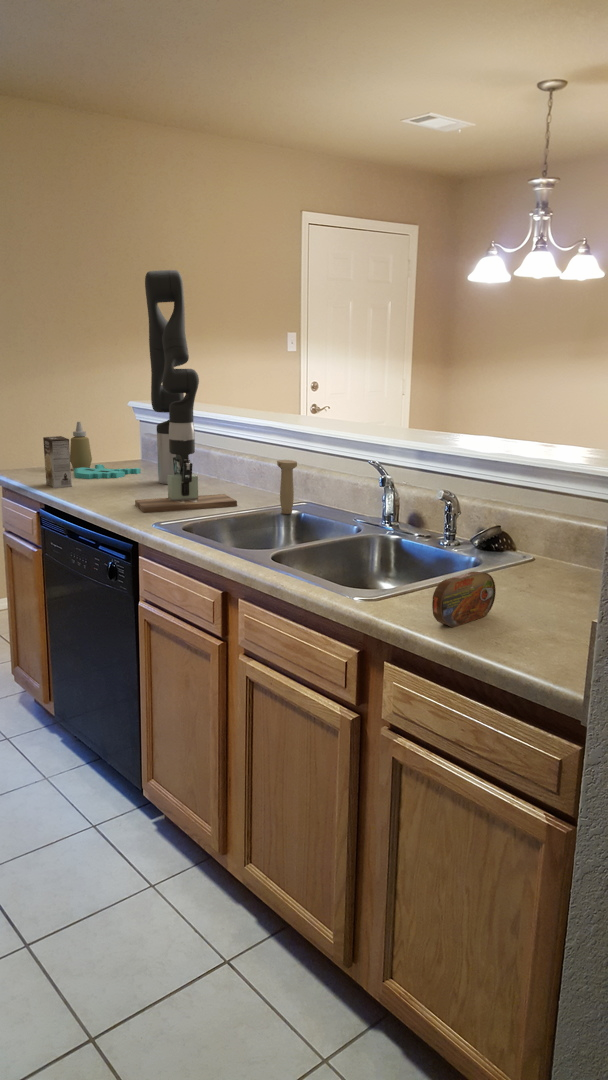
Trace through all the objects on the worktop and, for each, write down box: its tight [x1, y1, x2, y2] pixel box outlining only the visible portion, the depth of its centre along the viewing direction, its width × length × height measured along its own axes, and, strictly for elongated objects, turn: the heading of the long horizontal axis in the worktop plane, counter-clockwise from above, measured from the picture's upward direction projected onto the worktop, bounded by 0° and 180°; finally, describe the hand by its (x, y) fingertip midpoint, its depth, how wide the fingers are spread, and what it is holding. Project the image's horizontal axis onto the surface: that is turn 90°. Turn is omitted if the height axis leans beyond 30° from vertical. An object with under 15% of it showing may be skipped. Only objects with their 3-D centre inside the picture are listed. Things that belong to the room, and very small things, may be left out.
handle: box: [276, 459, 298, 515], centre depth 229 cm, size 5×6×15 cm
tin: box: [431, 571, 496, 628], centre depth 143 cm, size 15×3×8 cm, turn 130°
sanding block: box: [167, 473, 199, 501], centre depth 242 cm, size 5×8×7 cm, turn 113°
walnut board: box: [134, 493, 238, 513], centre depth 240 cm, size 12×28×2 cm, turn 113°
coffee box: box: [42, 435, 73, 489], centre depth 270 cm, size 9×6×16 cm
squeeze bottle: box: [69, 421, 93, 470], centre depth 302 cm, size 8×8×18 cm
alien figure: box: [73, 463, 141, 480], centre depth 294 cm, size 20×2×20 cm
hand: (183, 493), depth 242 cm, fingers closed on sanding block, 5 cm apart
